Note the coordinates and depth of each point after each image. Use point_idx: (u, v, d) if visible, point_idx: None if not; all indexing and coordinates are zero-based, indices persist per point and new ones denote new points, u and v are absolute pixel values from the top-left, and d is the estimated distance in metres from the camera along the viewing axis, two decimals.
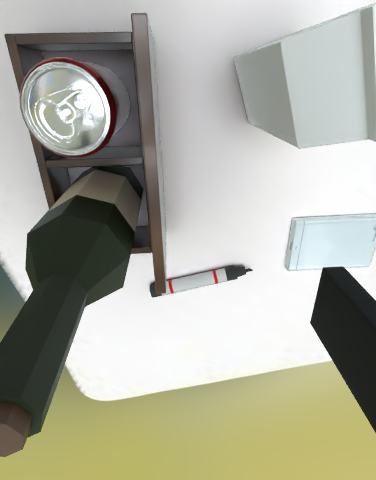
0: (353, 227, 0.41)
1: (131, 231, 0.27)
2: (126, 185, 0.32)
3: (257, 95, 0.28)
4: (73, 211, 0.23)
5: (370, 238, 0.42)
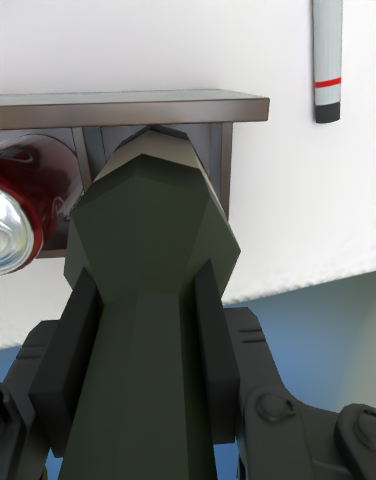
0: None
1: (134, 160, 0.15)
2: (117, 152, 0.22)
3: None
4: None
5: None
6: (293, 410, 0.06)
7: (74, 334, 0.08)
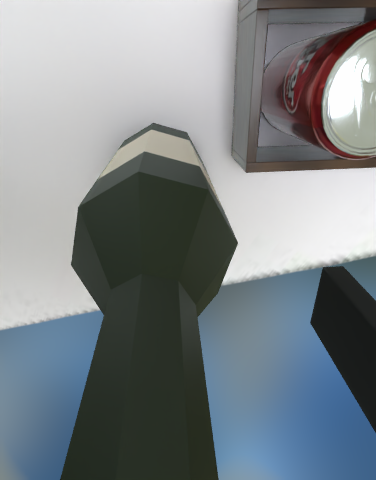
0: None
1: (137, 157, 0.16)
2: (120, 150, 0.23)
3: None
4: None
5: None
6: None
7: None
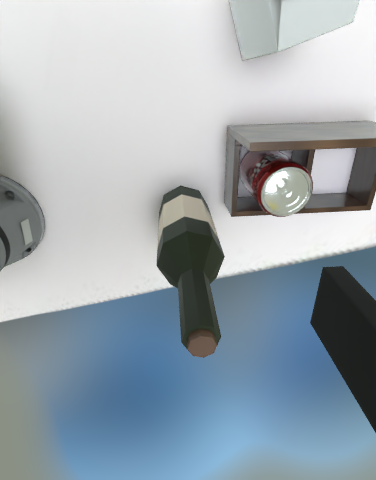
0: None
1: (182, 219, 0.38)
2: (166, 206, 0.45)
3: None
4: (158, 257, 0.37)
5: None
6: None
7: None
